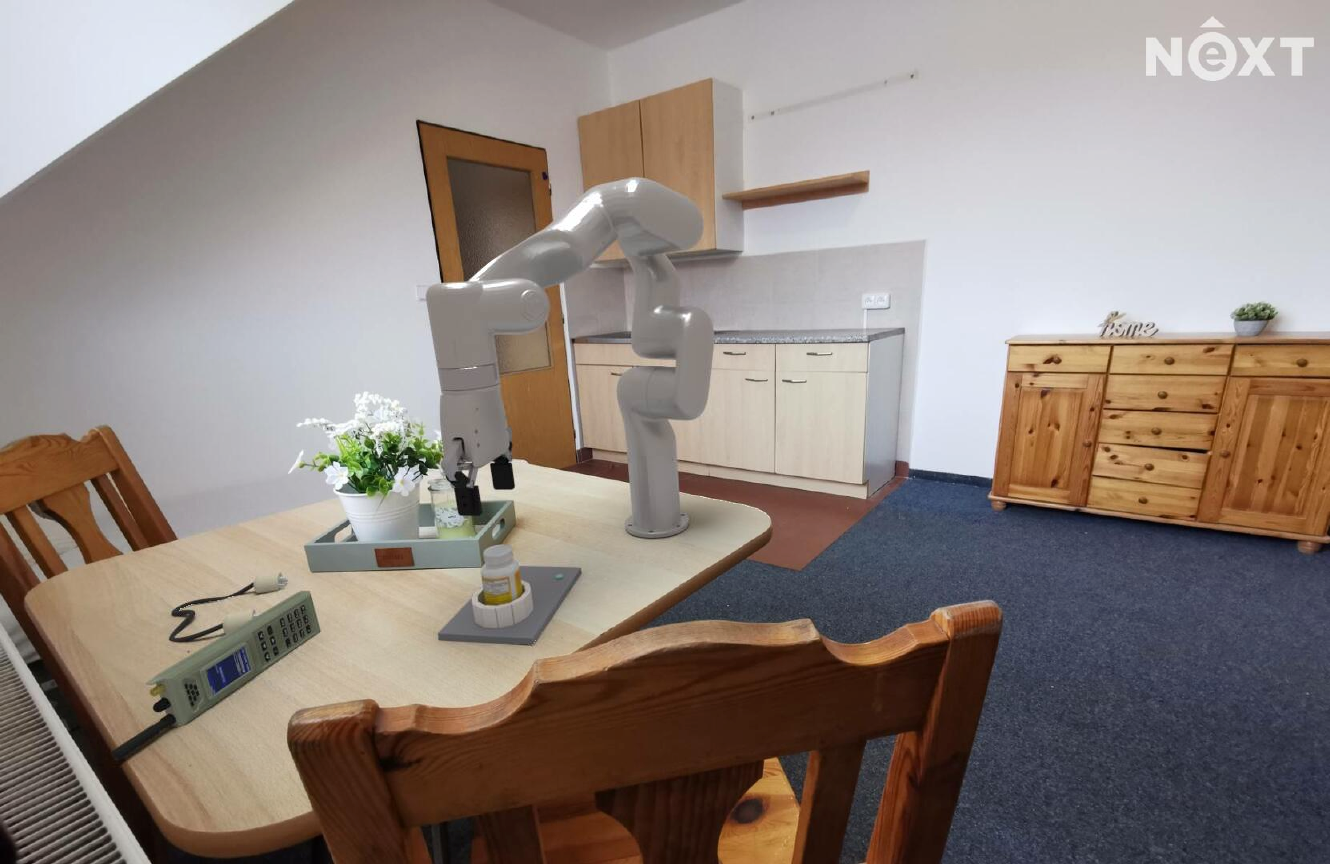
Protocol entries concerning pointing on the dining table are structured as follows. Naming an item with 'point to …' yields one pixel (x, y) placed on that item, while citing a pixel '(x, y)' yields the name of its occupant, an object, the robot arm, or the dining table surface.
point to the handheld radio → (227, 665)
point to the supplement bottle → (500, 576)
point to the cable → (232, 619)
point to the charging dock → (526, 627)
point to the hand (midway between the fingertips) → (488, 501)
